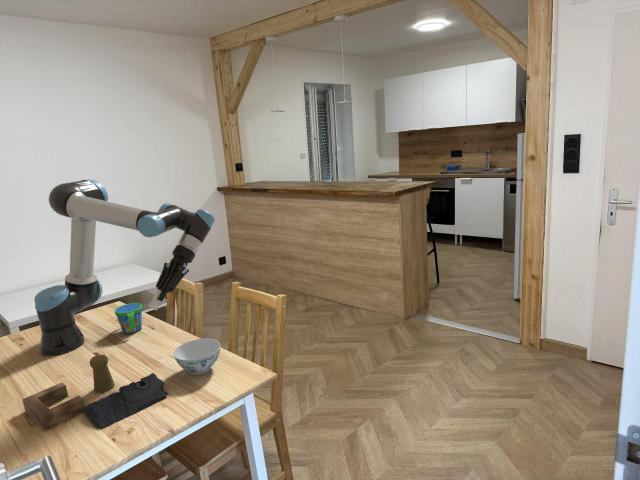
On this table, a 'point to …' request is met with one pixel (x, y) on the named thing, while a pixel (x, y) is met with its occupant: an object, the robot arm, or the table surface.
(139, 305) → the snack cup
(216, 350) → the chinaware
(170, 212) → the robot arm
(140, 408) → the dark slate chunk
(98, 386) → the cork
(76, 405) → the walnut pocket
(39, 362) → the table surface
